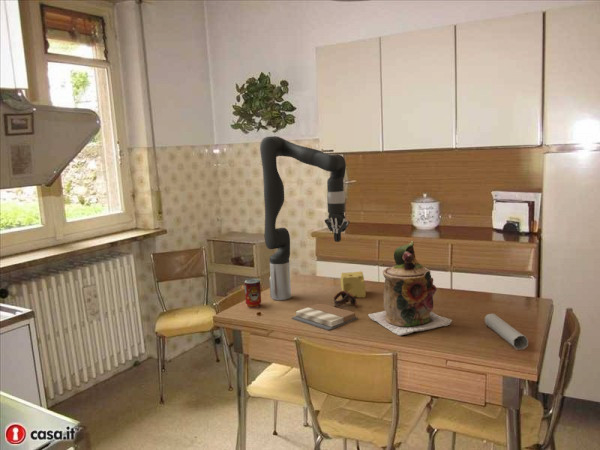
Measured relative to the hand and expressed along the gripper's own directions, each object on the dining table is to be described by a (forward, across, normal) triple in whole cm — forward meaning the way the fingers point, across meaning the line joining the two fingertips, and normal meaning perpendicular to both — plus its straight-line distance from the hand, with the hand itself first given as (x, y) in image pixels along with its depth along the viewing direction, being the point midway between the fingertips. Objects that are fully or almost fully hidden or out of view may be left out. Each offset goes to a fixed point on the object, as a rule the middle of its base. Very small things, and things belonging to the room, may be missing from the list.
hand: (337, 241), depth 216 cm
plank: (+28, +6, -19) cm, 35 cm away
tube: (+30, +68, +11) cm, 75 cm away
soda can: (+29, -31, -24) cm, 49 cm away
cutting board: (+29, +6, -16) cm, 34 cm away
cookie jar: (+29, +34, +2) cm, 45 cm away
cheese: (+29, -6, +16) cm, 34 cm away
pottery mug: (+29, +3, +1) cm, 29 cm away
